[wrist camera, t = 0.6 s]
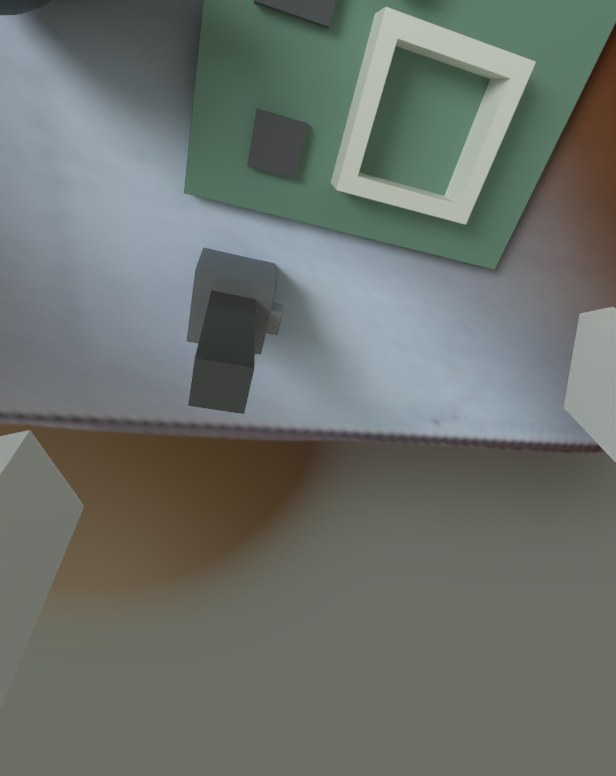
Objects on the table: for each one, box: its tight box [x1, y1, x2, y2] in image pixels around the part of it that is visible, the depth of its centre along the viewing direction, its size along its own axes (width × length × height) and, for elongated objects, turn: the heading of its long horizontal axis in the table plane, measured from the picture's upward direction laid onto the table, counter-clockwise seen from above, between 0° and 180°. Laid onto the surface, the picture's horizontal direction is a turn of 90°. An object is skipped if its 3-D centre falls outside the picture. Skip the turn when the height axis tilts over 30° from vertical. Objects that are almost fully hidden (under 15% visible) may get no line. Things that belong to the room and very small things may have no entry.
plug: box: [187, 248, 283, 414], centre depth 27 cm, size 6×5×13 cm
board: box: [184, 0, 616, 270], centre depth 25 cm, size 22×16×4 cm
